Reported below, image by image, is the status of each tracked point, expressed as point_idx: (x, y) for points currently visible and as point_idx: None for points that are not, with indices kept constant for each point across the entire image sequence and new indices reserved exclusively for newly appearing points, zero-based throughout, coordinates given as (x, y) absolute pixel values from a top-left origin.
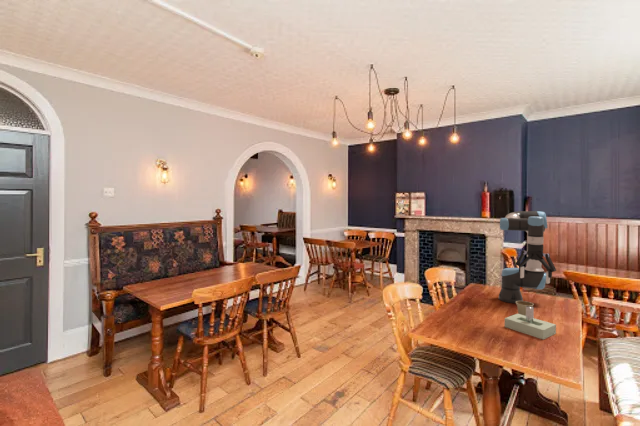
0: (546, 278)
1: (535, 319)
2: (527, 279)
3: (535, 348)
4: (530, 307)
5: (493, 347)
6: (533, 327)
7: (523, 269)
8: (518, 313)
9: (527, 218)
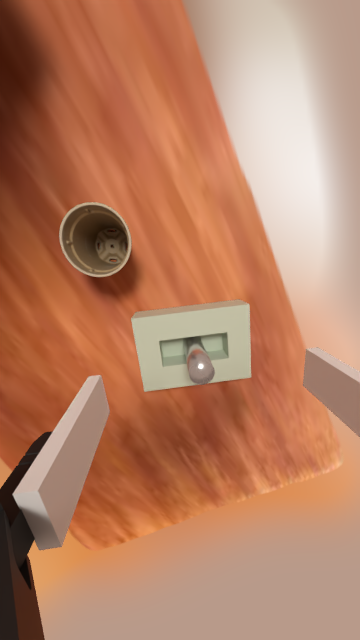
0: (339, 416)
1: (194, 319)
2: None
3: (255, 418)
4: (204, 373)
5: (210, 479)
6: (225, 380)
7: (68, 461)
8: (98, 261)
9: None
